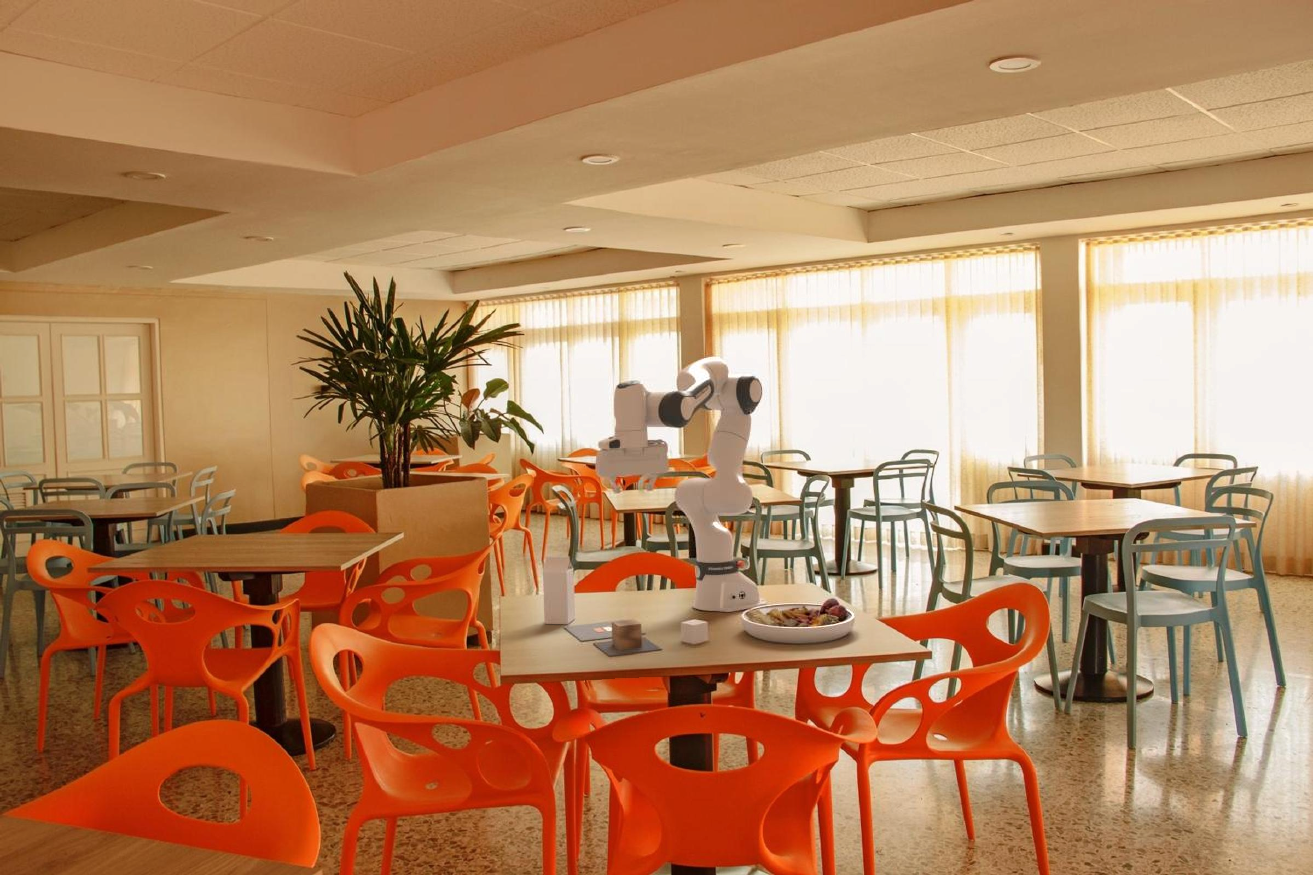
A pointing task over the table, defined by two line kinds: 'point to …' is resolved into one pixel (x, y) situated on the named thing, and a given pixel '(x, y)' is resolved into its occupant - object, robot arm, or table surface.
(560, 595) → the milk carton
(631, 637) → the walnut block
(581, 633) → the tile
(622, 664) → the table surface
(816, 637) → the bowl
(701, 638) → the beige block
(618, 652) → the mat
